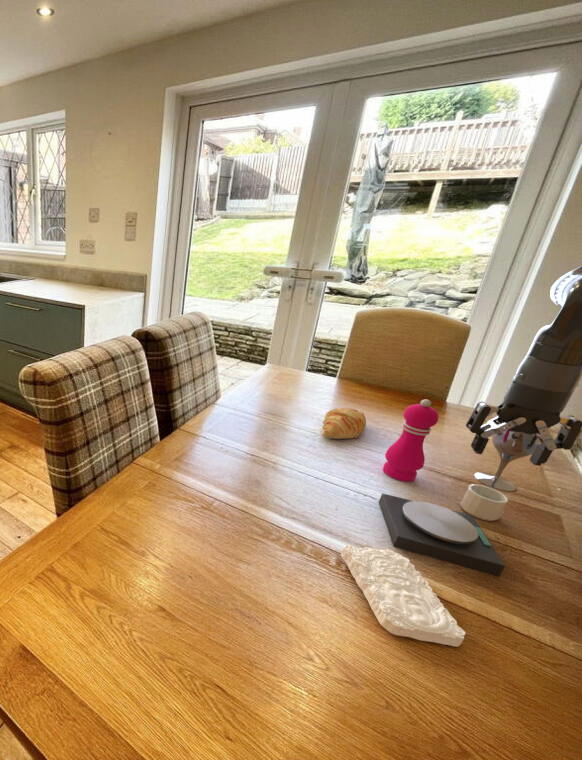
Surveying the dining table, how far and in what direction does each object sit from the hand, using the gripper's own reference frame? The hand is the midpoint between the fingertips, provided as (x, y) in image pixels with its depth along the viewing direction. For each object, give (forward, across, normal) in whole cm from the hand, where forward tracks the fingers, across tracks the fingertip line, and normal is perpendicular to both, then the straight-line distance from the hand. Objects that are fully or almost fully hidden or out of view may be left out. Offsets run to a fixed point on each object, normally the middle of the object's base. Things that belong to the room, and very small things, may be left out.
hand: (504, 457), depth 78 cm
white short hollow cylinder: (+14, 0, 0) cm, 14 cm away
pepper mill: (+14, +12, -9) cm, 20 cm away
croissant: (+14, +22, -28) cm, 38 cm away
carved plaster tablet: (+14, +21, +32) cm, 41 cm away
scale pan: (+11, +11, +13) cm, 20 cm away
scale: (+14, +11, +13) cm, 21 cm away
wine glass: (+14, -8, -16) cm, 23 cm away
